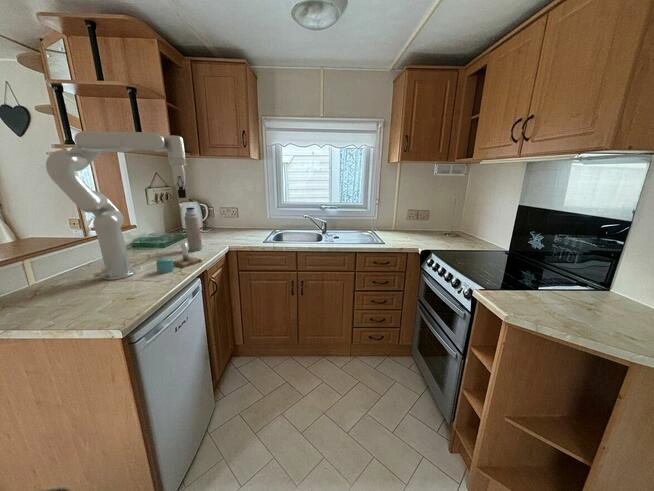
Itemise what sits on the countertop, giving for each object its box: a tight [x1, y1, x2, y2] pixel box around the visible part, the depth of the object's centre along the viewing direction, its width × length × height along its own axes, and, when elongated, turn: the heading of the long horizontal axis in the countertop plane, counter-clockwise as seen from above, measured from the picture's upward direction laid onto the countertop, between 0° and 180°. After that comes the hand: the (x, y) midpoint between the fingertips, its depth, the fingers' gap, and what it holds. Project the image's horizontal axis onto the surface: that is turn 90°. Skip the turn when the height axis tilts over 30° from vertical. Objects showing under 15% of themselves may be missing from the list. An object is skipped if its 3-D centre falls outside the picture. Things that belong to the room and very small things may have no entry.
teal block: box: [155, 257, 175, 274], centre depth 138 cm, size 7×7×6 cm
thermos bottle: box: [184, 207, 203, 252], centre depth 173 cm, size 8×8×28 cm
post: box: [180, 242, 190, 261], centre depth 149 cm, size 3×3×10 cm
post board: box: [173, 256, 202, 269], centre depth 150 cm, size 11×11×2 cm
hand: (182, 197), depth 137 cm, fingers open, 9 cm apart
